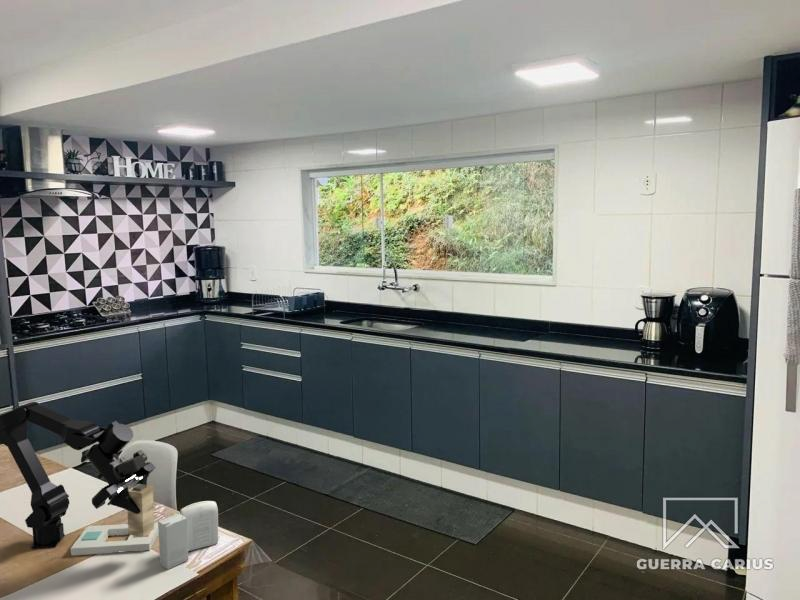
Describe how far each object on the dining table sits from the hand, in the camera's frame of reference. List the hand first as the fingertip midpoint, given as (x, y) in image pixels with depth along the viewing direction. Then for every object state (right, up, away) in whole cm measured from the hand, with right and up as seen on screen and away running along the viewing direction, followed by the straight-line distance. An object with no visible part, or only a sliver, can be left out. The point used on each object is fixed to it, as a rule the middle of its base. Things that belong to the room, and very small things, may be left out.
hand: (145, 508), depth 157 cm
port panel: (-12, -13, +10) cm, 20 cm away
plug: (-1, -7, +1) cm, 7 cm away
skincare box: (+8, -14, 0) cm, 16 cm away
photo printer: (+12, -13, +8) cm, 19 cm away
